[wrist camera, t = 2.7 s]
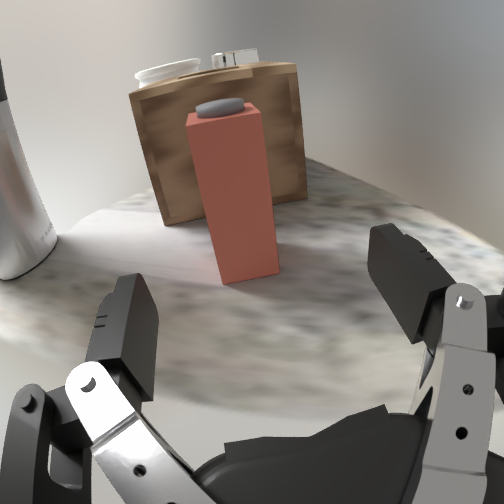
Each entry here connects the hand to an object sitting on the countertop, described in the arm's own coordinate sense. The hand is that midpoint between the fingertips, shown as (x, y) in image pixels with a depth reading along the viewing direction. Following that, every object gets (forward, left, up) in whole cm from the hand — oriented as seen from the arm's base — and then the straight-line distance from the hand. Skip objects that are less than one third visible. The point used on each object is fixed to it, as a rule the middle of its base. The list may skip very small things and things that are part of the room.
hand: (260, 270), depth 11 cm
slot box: (0, +25, -7) cm, 27 cm away
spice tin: (0, +11, -8) cm, 13 cm away
